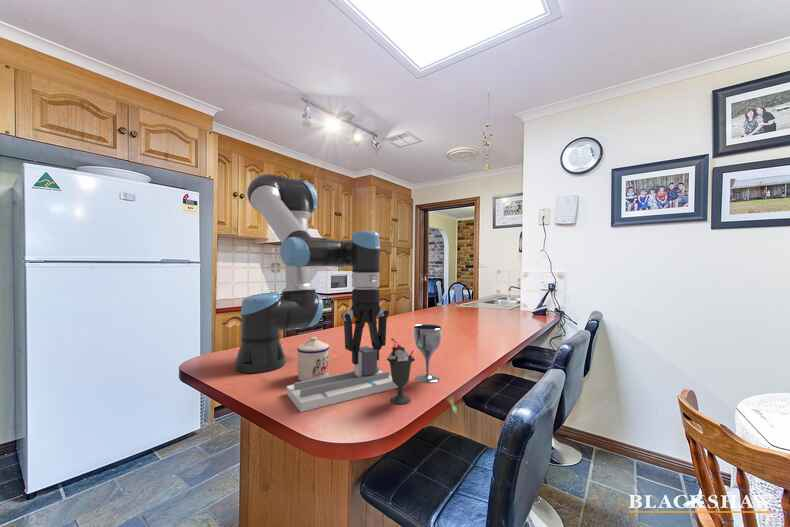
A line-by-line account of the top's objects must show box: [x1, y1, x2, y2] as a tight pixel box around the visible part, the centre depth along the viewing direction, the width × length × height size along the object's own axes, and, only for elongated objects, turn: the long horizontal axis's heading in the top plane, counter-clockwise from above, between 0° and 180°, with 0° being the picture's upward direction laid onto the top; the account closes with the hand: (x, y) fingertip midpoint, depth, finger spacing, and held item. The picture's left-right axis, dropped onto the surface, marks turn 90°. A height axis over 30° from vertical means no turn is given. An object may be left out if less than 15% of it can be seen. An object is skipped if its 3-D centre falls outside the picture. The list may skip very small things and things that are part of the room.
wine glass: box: [413, 323, 442, 384], centre depth 92 cm, size 8×8×15 cm
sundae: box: [386, 338, 416, 406], centre depth 77 cm, size 7×7×15 cm
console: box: [286, 365, 398, 413], centre depth 83 cm, size 12×26×4 cm, turn 123°
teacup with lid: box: [297, 336, 331, 381], centre depth 94 cm, size 12×9×12 cm
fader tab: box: [357, 345, 378, 377], centre depth 86 cm, size 6×4×8 cm, turn 33°
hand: (365, 374), depth 86 cm, fingers open, 4 cm apart
